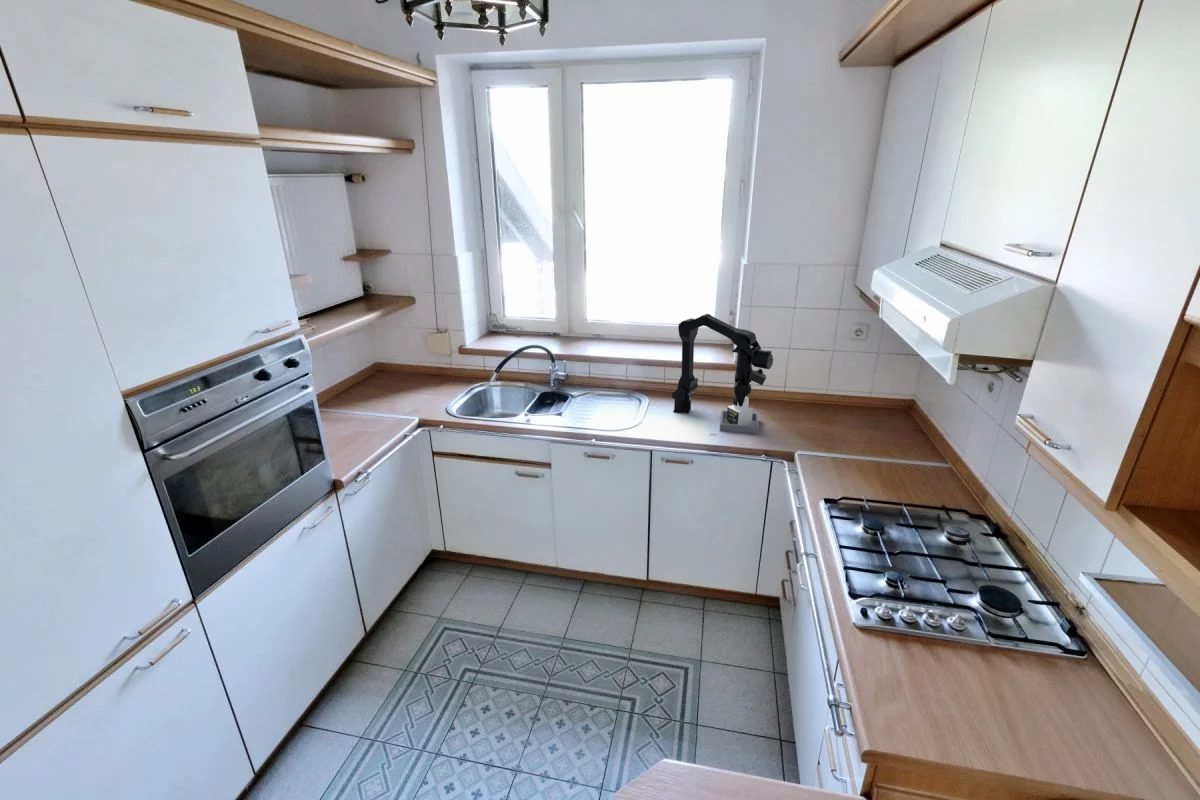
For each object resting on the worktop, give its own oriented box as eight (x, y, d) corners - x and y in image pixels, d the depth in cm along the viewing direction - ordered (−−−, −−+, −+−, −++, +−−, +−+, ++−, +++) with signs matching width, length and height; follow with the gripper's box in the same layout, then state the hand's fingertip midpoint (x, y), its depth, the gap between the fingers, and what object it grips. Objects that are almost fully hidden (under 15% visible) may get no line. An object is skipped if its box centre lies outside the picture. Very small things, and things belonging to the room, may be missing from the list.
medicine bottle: (726, 422, 227) (728, 394, 223) (740, 419, 230) (742, 391, 226) (737, 428, 221) (739, 400, 217) (751, 425, 224) (754, 397, 220)
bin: (719, 430, 221) (720, 423, 220) (721, 417, 234) (721, 410, 233) (758, 434, 218) (758, 427, 217) (757, 420, 231) (757, 413, 230)
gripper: (766, 373, 206) (762, 412, 212) (765, 358, 223) (761, 395, 229) (735, 371, 209) (732, 410, 214) (736, 357, 226) (733, 393, 231)
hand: (740, 402), depth 222 cm, fingers open, 9 cm apart
